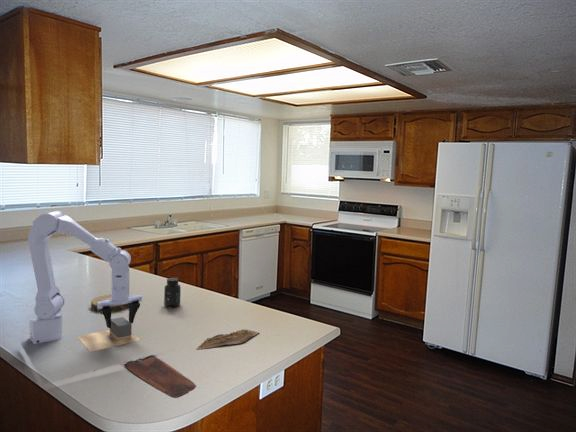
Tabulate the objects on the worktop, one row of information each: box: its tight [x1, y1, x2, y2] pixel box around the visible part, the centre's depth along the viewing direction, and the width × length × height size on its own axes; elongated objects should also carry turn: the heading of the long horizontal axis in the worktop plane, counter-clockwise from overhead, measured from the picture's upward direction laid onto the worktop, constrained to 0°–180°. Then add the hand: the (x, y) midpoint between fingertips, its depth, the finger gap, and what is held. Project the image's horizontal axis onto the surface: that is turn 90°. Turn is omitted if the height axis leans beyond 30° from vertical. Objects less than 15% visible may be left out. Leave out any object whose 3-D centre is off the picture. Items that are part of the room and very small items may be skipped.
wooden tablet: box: [124, 355, 197, 398], centre depth 122 cm, size 26×2×10 cm
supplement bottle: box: [163, 277, 181, 309], centre depth 183 cm, size 7×7×12 cm
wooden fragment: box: [196, 329, 260, 351], centre depth 150 cm, size 26×11×1 cm, turn 127°
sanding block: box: [109, 316, 133, 341], centre depth 145 cm, size 4×8×5 cm, turn 42°
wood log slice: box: [90, 294, 129, 313], centre depth 180 cm, size 16×16×3 cm
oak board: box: [76, 329, 141, 353], centre depth 143 cm, size 16×15×2 cm
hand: (120, 324), depth 145 cm, fingers open, 7 cm apart
